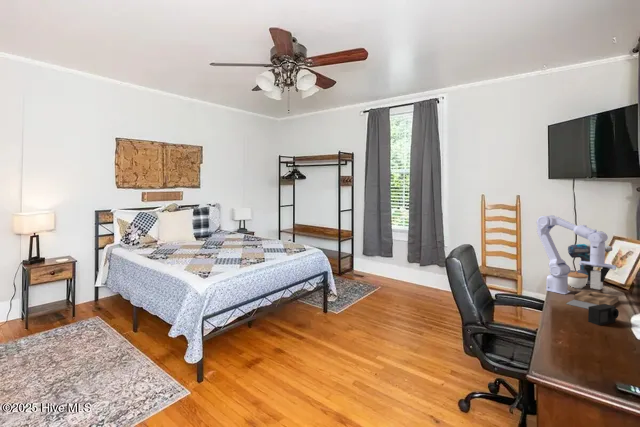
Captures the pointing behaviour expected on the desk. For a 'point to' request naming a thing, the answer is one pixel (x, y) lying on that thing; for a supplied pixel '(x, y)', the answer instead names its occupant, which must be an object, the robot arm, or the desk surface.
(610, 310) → the digital camera
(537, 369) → the desk surface
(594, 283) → the grey rectangular block
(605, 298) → the socket block
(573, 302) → the mat
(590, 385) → the desk surface
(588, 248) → the impact wrench
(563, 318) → the desk surface
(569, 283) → the lidded jar
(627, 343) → the desk surface
